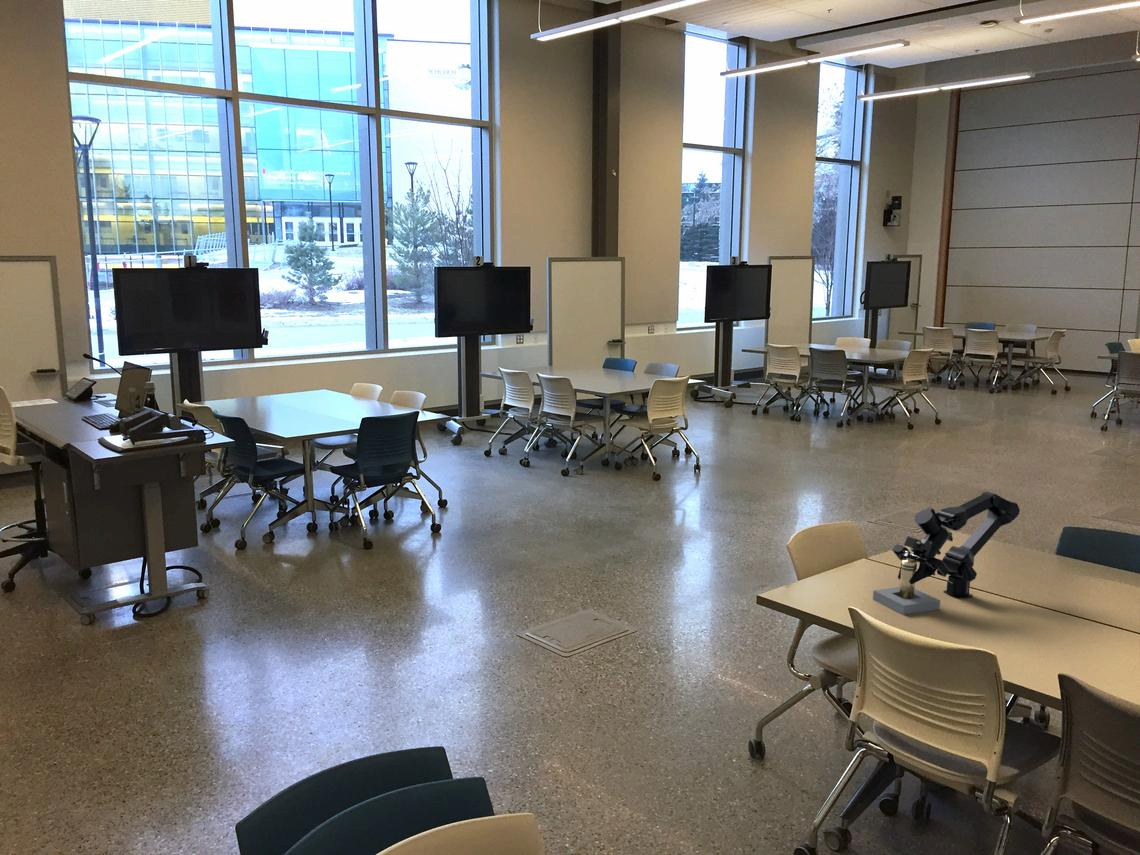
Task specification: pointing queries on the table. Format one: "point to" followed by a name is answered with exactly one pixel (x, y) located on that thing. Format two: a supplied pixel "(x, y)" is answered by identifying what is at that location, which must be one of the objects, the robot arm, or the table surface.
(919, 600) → the grey square frame
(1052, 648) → the table surface
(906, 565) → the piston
